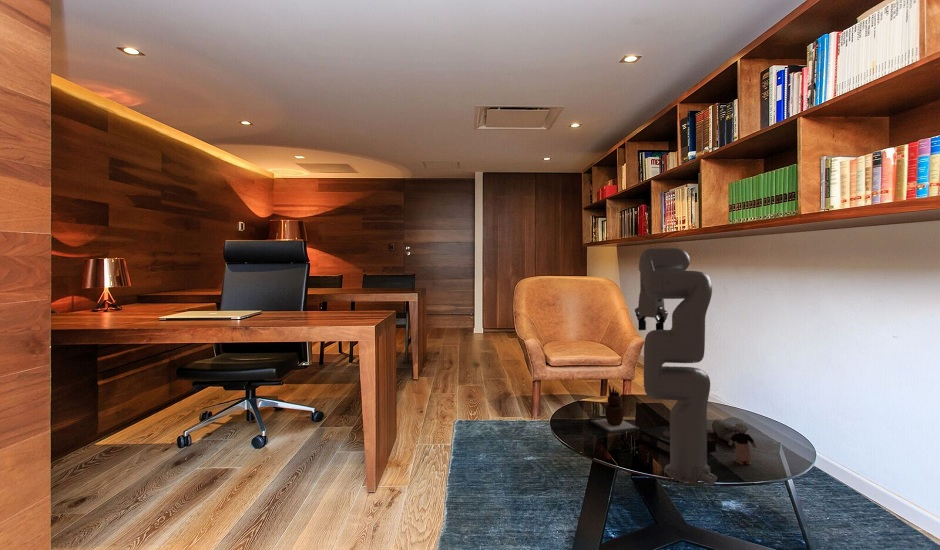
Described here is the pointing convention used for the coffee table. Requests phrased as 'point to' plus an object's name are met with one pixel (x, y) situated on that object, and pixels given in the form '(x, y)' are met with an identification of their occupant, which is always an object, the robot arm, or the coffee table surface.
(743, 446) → the toy figure
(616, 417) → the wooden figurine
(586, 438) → the coffee table surface
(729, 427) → the decorative bird
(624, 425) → the card
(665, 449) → the portable cd player
